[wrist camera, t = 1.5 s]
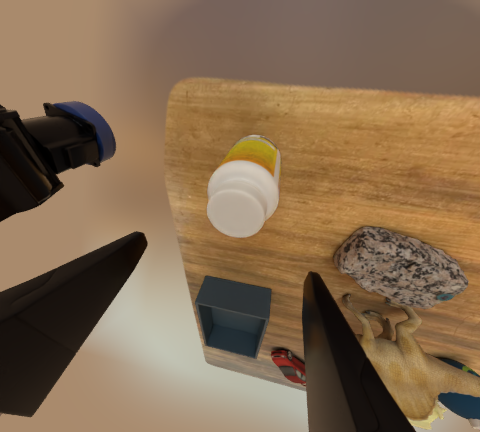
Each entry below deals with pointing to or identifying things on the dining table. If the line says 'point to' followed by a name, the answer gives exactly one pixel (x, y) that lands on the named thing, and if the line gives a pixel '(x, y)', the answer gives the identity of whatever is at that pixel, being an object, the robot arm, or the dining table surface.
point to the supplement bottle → (245, 187)
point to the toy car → (289, 366)
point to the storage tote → (233, 315)
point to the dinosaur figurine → (410, 364)
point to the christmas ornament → (462, 399)
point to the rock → (400, 268)
